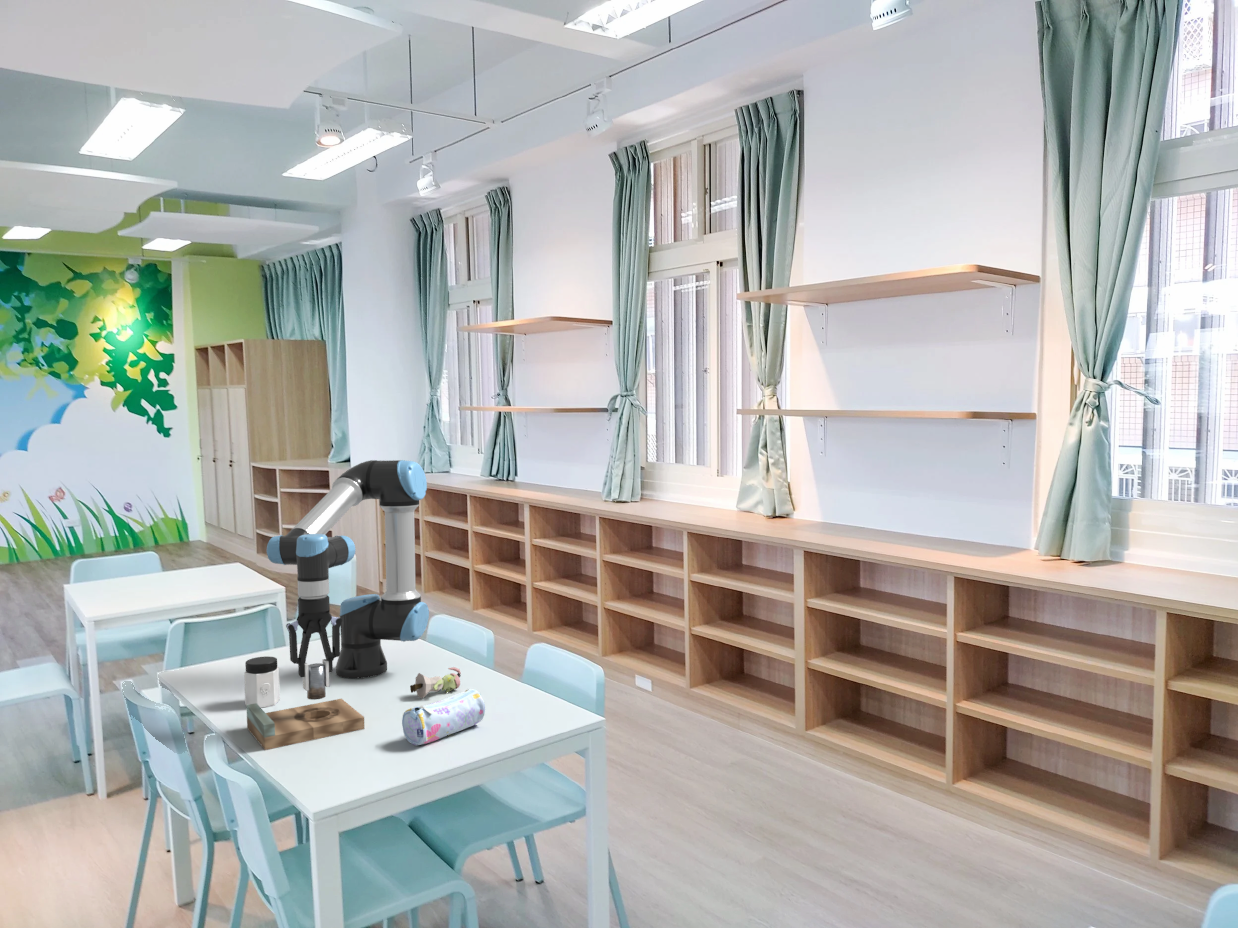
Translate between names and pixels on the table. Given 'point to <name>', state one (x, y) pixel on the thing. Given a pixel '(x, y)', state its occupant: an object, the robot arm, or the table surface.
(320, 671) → the grey metal cylinder
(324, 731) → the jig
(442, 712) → the pencil case
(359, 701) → the table surface
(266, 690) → the jar
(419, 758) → the table surface
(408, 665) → the table surface
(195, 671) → the table surface
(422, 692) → the figurine
